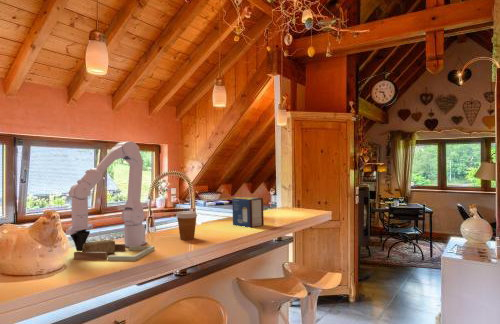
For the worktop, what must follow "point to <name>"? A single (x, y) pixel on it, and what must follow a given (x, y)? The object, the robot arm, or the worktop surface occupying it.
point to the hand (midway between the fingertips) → (80, 250)
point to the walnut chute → (96, 254)
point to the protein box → (248, 211)
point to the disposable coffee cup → (186, 225)
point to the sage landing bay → (133, 258)
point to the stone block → (99, 246)
